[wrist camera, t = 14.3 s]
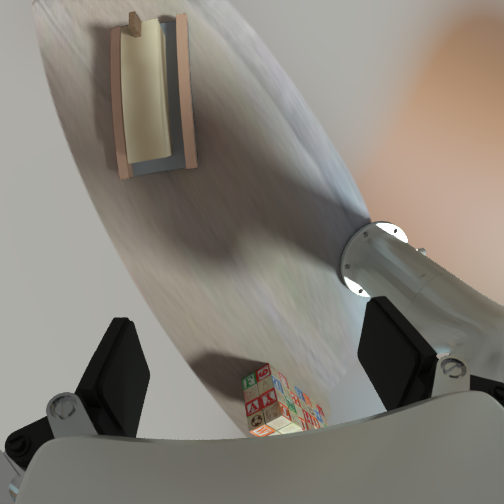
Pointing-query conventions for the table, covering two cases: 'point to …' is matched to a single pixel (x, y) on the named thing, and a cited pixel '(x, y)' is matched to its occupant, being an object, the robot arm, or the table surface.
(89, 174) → the table surface
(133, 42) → the tapered cream block
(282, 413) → the stack of blocks
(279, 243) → the table surface
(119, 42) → the jig cradle
